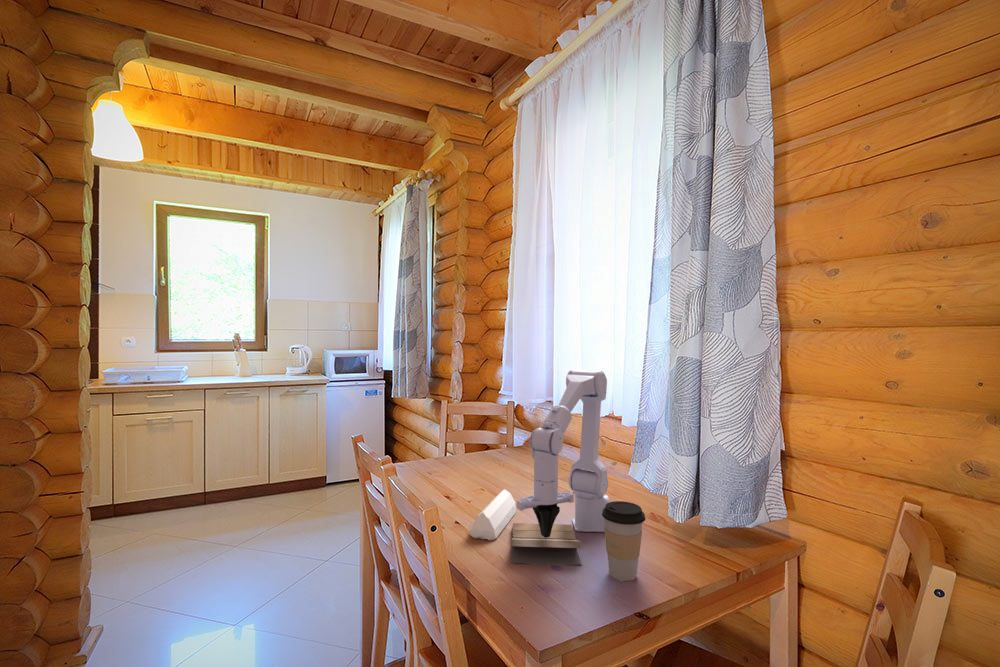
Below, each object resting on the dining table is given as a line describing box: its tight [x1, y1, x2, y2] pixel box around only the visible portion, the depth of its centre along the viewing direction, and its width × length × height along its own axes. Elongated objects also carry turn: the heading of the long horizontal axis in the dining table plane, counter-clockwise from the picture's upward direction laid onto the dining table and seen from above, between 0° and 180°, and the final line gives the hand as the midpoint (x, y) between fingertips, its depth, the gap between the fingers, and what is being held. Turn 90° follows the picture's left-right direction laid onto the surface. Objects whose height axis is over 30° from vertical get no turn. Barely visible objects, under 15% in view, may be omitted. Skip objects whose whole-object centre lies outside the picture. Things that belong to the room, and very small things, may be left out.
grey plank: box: [511, 537, 581, 549], centre depth 113 cm, size 16×9×2 cm, turn 88°
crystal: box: [469, 488, 517, 541], centre depth 131 cm, size 7×7×24 cm
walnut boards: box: [511, 522, 576, 540], centre depth 122 cm, size 16×9×2 cm, turn 88°
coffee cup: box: [602, 500, 646, 582], centre depth 104 cm, size 9×9×15 cm
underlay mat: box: [510, 525, 582, 566], centre depth 118 cm, size 16×21×1 cm
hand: (545, 535), depth 111 cm, fingers closed
